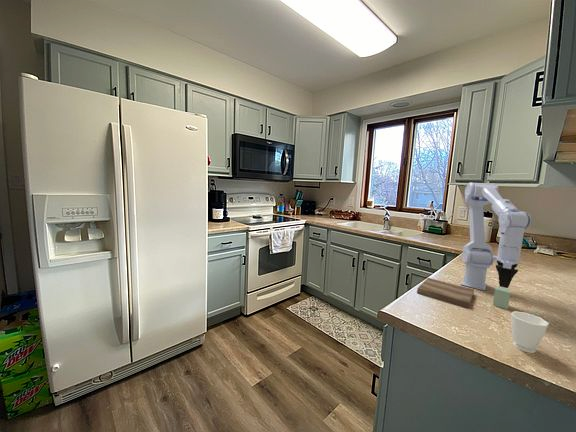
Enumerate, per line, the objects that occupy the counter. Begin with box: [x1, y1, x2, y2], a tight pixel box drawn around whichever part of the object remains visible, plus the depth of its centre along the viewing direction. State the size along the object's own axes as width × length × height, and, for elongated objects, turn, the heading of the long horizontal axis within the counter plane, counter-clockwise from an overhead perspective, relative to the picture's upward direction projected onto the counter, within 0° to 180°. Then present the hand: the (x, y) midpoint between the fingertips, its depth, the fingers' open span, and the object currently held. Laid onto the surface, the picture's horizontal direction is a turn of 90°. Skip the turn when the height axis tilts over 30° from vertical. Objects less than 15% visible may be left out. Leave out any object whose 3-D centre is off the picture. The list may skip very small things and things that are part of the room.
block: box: [492, 285, 512, 310], centre depth 86 cm, size 4×4×6 cm
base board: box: [416, 277, 475, 309], centre depth 94 cm, size 16×16×2 cm
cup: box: [510, 310, 550, 354], centre depth 63 cm, size 7×10×8 cm
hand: (503, 284), depth 85 cm, fingers open, 7 cm apart
